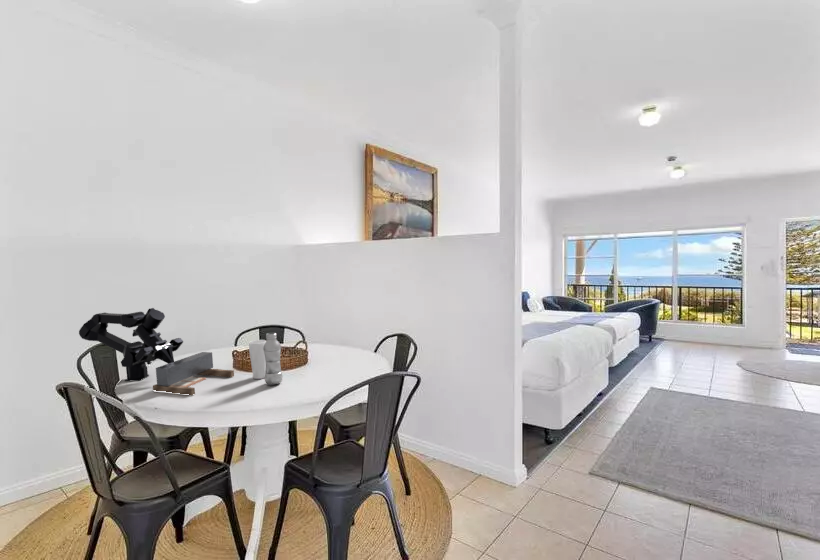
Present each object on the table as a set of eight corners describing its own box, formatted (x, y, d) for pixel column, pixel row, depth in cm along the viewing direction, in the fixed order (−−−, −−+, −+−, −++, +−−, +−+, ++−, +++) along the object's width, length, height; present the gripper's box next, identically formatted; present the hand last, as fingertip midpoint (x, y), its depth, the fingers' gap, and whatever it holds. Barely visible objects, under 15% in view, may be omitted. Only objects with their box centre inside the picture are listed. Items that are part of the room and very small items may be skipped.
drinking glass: (271, 374, 174) (269, 339, 172) (264, 380, 167) (261, 343, 166) (255, 374, 174) (253, 339, 173) (248, 380, 168) (245, 343, 166)
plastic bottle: (267, 381, 165) (264, 332, 163) (284, 380, 166) (281, 331, 164) (262, 387, 159) (259, 335, 157) (281, 386, 159) (278, 335, 158)
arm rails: (153, 392, 157) (152, 385, 157) (198, 373, 178) (198, 367, 178) (191, 395, 152) (191, 389, 152) (234, 376, 173) (233, 370, 173)
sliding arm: (157, 384, 156) (155, 368, 155) (203, 366, 178) (202, 351, 177) (167, 385, 154) (166, 368, 154) (213, 367, 176) (212, 352, 176)
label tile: (168, 387, 162) (167, 385, 162) (190, 377, 173) (190, 376, 173) (184, 388, 160) (184, 386, 160) (206, 379, 170) (205, 377, 170)
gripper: (159, 344, 180) (181, 370, 178) (118, 355, 163) (142, 385, 161) (172, 326, 178) (195, 353, 175) (132, 336, 160) (157, 366, 158)
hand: (173, 364), depth 167 cm, fingers closed
